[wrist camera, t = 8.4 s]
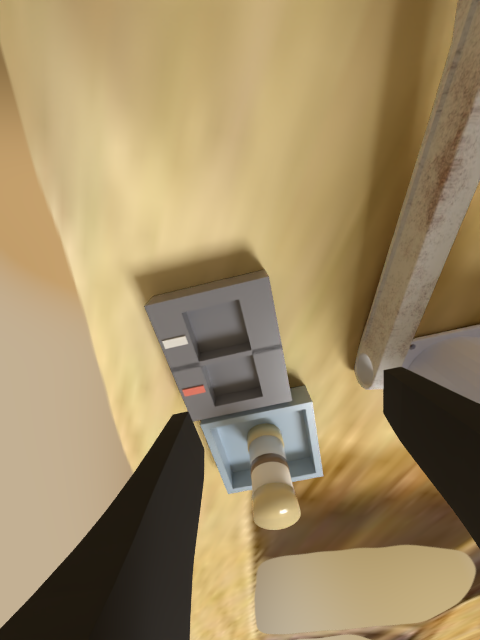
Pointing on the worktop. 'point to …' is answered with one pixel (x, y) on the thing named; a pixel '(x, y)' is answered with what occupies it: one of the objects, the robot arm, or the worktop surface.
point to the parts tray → (289, 417)
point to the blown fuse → (271, 479)
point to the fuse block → (223, 345)
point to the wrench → (429, 207)
